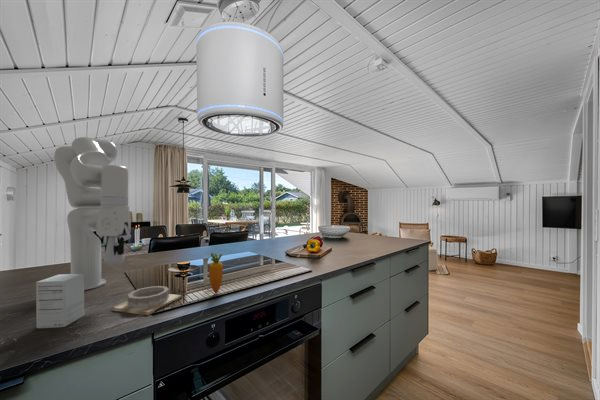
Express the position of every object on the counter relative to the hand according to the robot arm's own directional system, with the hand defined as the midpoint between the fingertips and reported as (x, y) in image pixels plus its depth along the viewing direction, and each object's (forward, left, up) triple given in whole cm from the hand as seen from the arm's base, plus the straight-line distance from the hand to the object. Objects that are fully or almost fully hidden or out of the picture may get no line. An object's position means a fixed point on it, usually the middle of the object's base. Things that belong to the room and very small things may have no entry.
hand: (114, 256), depth 86 cm
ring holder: (+13, +2, -16) cm, 20 cm away
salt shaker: (0, 0, -3) cm, 4 cm away
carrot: (+29, +16, -16) cm, 36 cm away
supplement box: (-1, -15, -16) cm, 22 cm away
